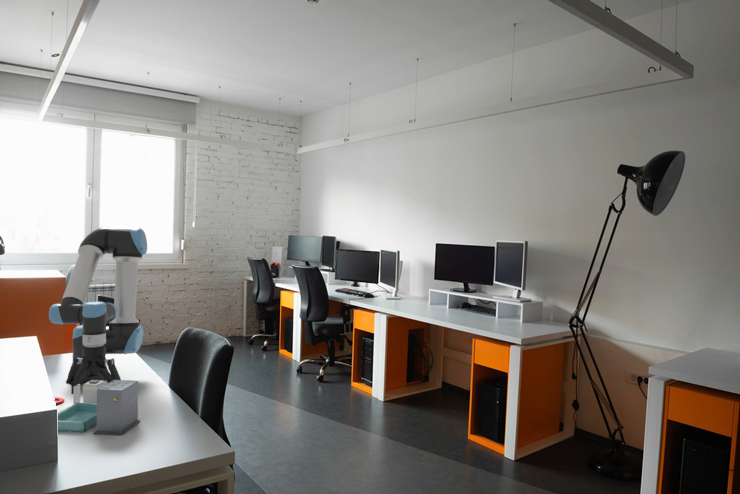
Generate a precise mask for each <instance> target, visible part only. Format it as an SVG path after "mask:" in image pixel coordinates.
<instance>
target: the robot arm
mask: <svg viewBox="0 0 740 494" xmlns="http://www.w3.org/2000/svg"><path fill="white" fill-rule="evenodd" d="M147 251H148V241H147V236H146V233H145V231H144V230H143V229H142V228H141V227H133V226H102V227H99V228H97V229H95V230H92V232H90V233H89V234H87V235H86V237H85V238H84V239H83V240H82V241H81V243H80V245H79V246H78V250H77V253H78V258H77V259H76V262H75V265H74V268H73V270H72V272H71V274H70V278H69V280H68V282H67V285H66V287H65V291H64V293H63V295H62V298H61V301H60V303H54V304H52V305H51V306H50V307H49V310H48V318H49V321H50V322H51V323H52V324H54V325H78V326H76V327H74V328H73V331H72V338H71V339H72V363H71V366H70V369H69V371H68V374H67V378H66V381H65V384H66V385H70V386H71V389H70V390H71V391H70V392H71V395H72V396H73V397H72V398H73V401H72V402H73V404H72V405H74V404H76V403H81V384H85V383H87V382H89V381H91V380H99V381H105V382H106V383H107V384H108V383H109V382H111V381H113V380H122V378H121V376H120V374H119V371H118V369H117V367H116V365H115V363H116V362H115V358H110V359H109V358H108V359H107V358H106V355H117V354H118V355H123V354H124V355H127V354H136V353H137V352H139V350H140V348H141V345H142V342H143V338H144V327H143V326H142V325H140V321H139V320H138V318H136V312H137V291H138V275H139V273H138V272H139V262H140V261H141V260H143V255H146V254H147ZM106 254H108V255H111V254H112V256H111V257H112V259H113V260H114V261H115V275H114V276H115V279H114V280H115V281H114V296H113V297H114V299H113V300H114V301H113V303H112V302H104V301H88V302H85V300H86V297H87V296H88V295H87V294H88V291H89V289H90V286H91V283H92V281H93V277H94V275H95V272H96V269H97V267H98V264H99V261H101V260H102V259H103V257H104V255H106ZM79 324H80V325H79ZM107 324H108V325H107Z"/></svg>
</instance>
